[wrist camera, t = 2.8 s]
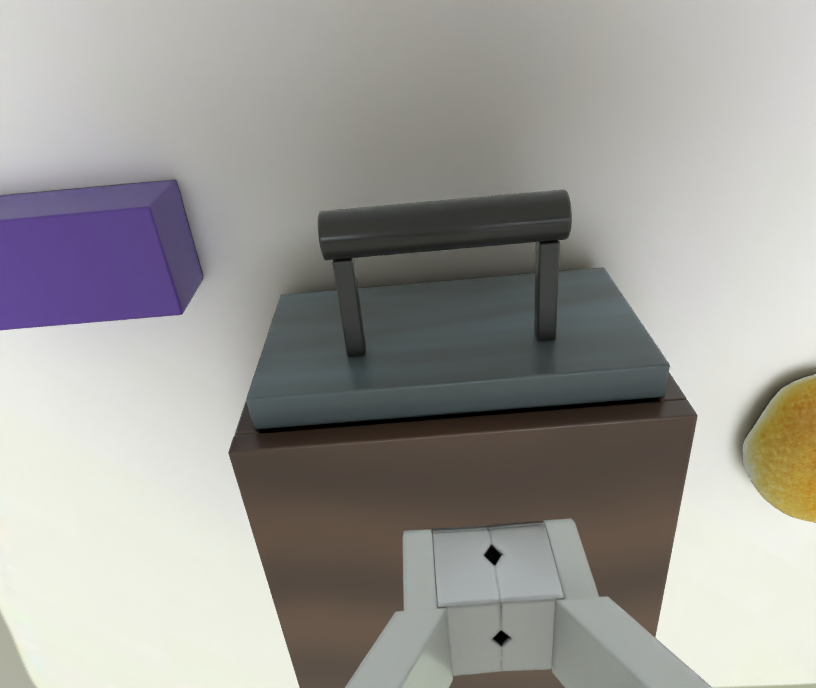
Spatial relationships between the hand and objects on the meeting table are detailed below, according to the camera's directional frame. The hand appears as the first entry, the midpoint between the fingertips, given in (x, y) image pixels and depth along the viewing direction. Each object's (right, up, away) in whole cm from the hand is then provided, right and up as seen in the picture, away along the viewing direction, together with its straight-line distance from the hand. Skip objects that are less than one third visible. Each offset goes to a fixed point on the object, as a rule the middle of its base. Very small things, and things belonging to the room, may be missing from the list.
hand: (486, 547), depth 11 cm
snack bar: (-13, +8, +13) cm, 20 cm away
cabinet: (+1, 0, +18) cm, 18 cm away
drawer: (0, +3, +15) cm, 15 cm away
